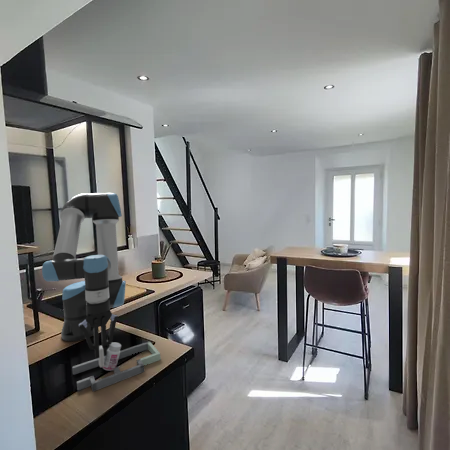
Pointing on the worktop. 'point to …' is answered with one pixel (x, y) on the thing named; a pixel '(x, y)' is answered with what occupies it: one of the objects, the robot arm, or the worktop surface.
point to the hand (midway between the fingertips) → (101, 365)
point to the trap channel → (117, 374)
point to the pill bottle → (112, 356)
